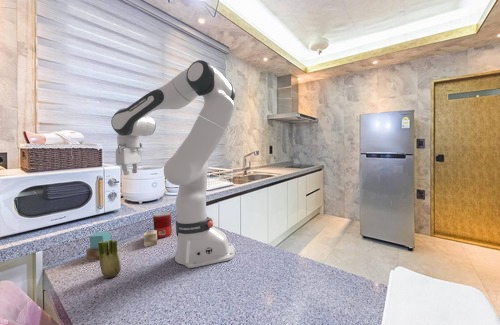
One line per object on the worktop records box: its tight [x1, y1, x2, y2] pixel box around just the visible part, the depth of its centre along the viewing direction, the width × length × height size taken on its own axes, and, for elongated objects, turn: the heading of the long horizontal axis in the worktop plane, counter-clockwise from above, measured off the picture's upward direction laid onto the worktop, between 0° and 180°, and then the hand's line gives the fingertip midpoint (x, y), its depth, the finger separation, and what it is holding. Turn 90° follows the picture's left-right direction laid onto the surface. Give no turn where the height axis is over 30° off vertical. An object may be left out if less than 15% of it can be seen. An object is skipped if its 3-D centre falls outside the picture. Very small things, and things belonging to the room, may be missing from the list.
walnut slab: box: [85, 247, 99, 260], centre depth 89 cm, size 7×7×4 cm
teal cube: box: [89, 230, 112, 249], centre depth 89 cm, size 5×5×5 cm
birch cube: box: [143, 229, 158, 248], centre depth 98 cm, size 5×5×5 cm
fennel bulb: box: [98, 239, 122, 279], centre depth 73 cm, size 6×5×12 cm
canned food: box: [152, 210, 173, 239], centre depth 107 cm, size 8×8×11 cm
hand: (130, 174), depth 103 cm, fingers open, 8 cm apart
